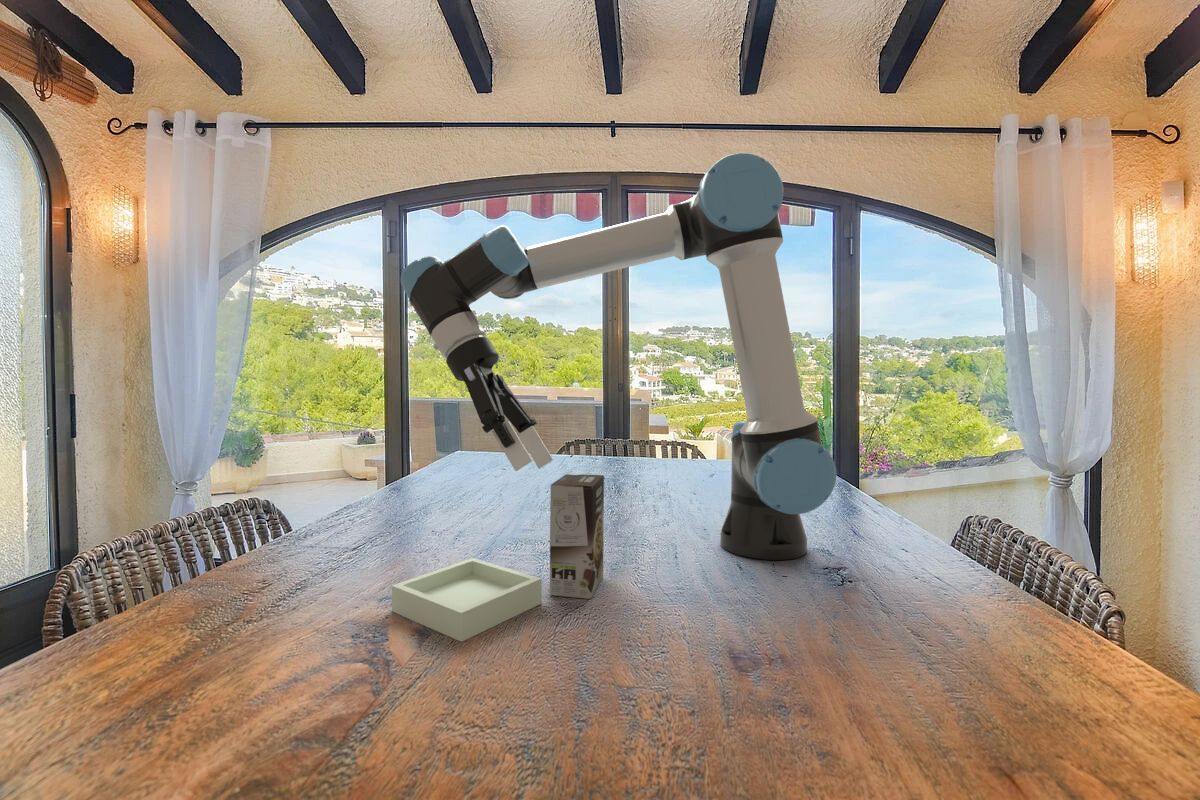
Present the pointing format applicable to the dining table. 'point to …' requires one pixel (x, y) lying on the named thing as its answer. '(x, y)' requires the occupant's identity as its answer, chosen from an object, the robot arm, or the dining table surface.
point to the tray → (466, 597)
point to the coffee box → (576, 535)
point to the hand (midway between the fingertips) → (536, 465)
